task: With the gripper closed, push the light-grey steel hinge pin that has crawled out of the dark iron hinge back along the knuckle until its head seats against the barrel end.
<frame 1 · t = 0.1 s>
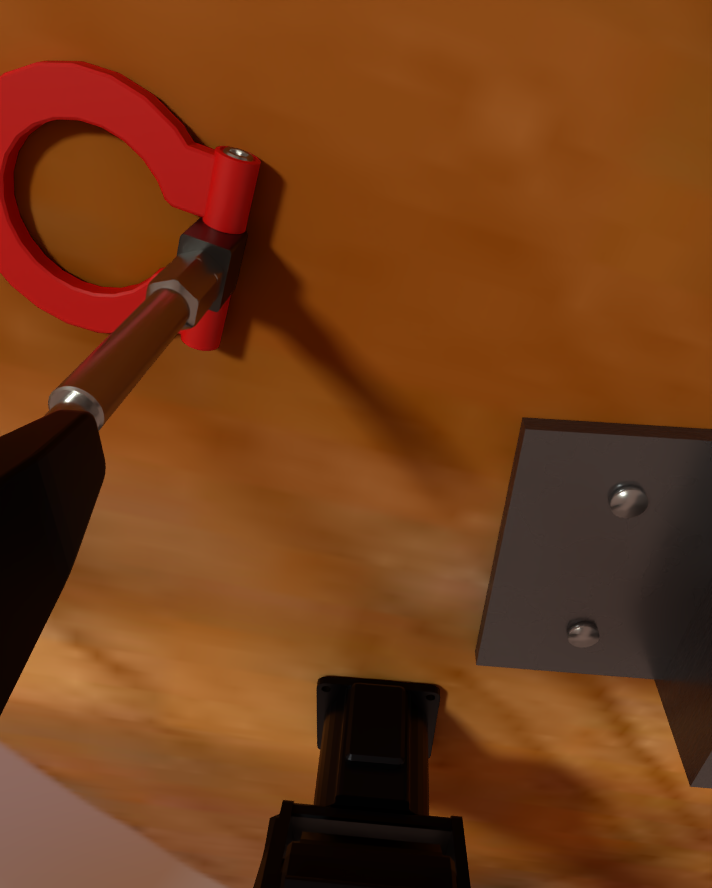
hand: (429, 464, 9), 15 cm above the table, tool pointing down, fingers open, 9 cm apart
tow hook: (113, 208, 22), on the table
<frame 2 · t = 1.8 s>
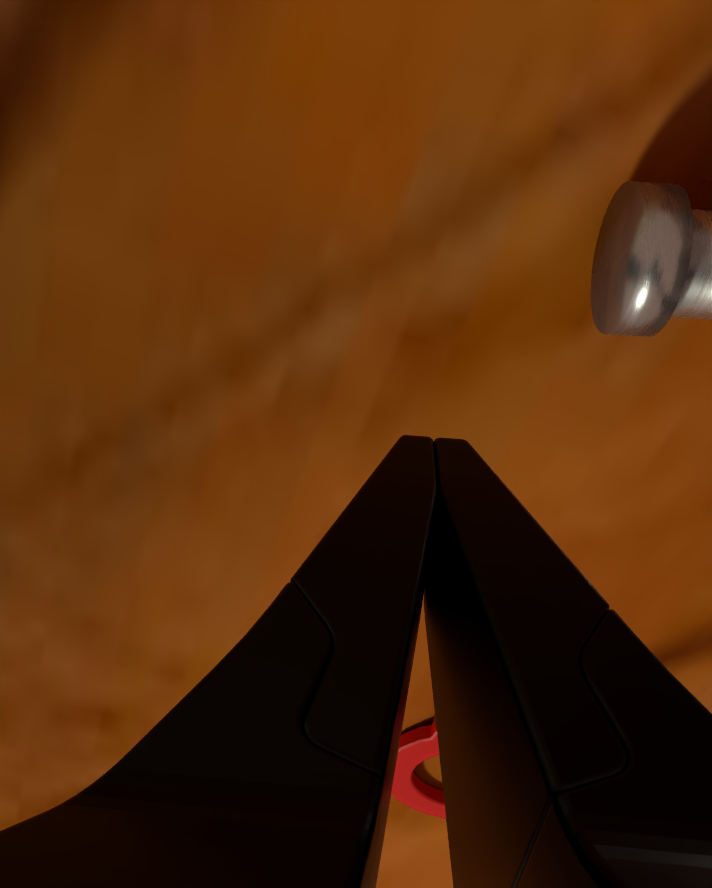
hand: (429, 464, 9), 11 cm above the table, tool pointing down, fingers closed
tow hook: (470, 754, 33), on the table
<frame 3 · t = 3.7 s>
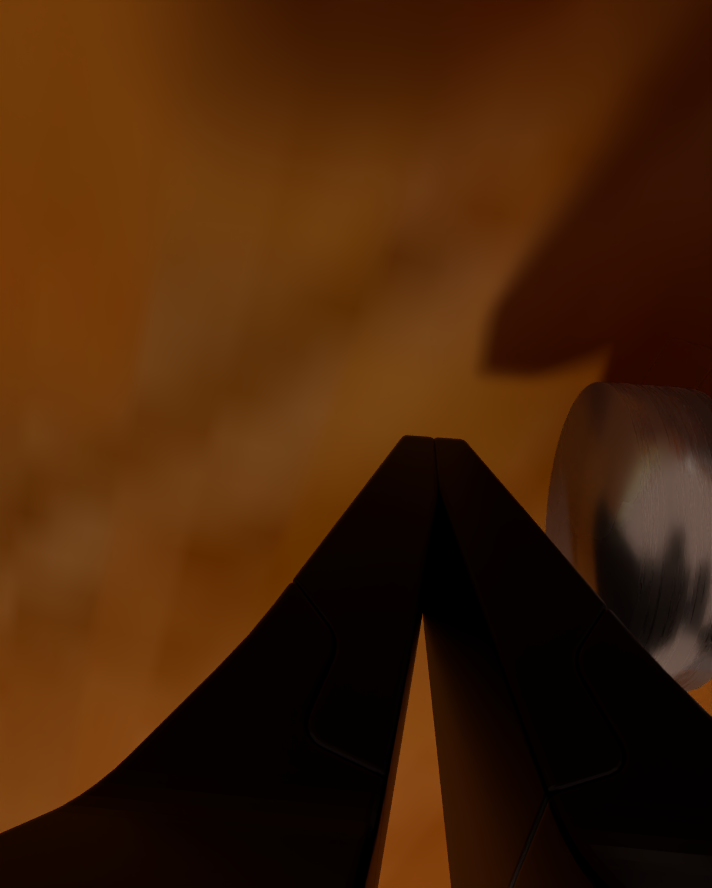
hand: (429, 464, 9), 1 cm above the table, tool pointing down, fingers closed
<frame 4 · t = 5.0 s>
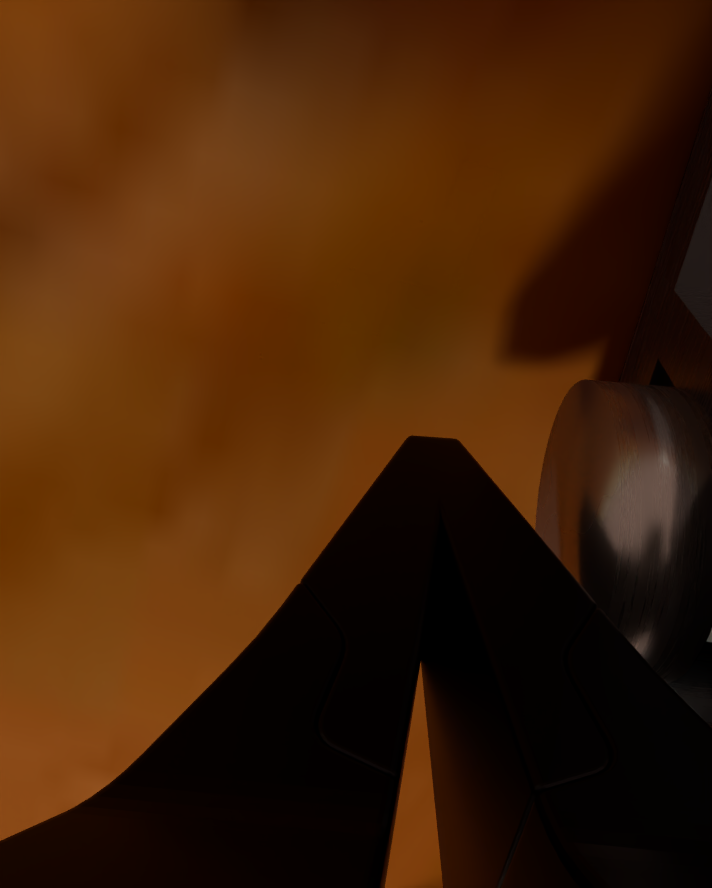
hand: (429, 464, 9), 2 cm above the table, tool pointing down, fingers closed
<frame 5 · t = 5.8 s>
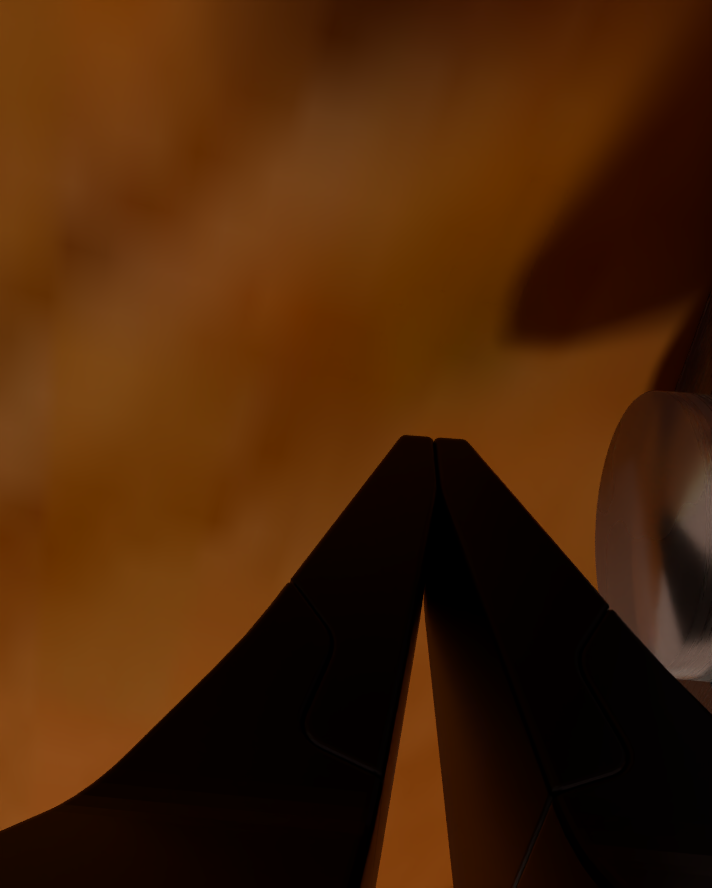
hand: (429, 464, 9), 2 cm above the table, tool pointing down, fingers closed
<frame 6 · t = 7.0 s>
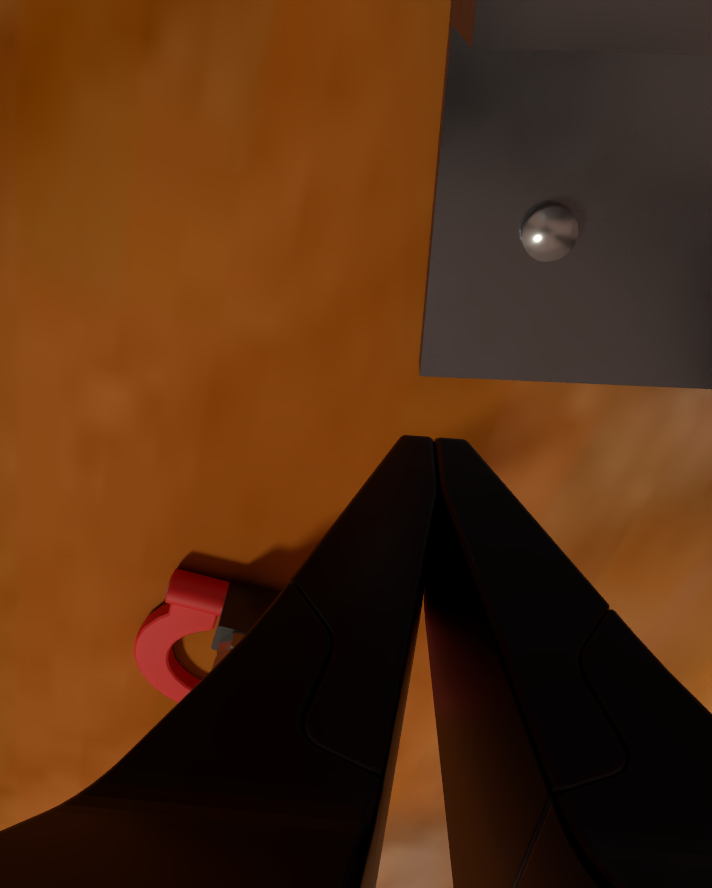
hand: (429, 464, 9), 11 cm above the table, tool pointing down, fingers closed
tow hook: (237, 641, 30), on the table
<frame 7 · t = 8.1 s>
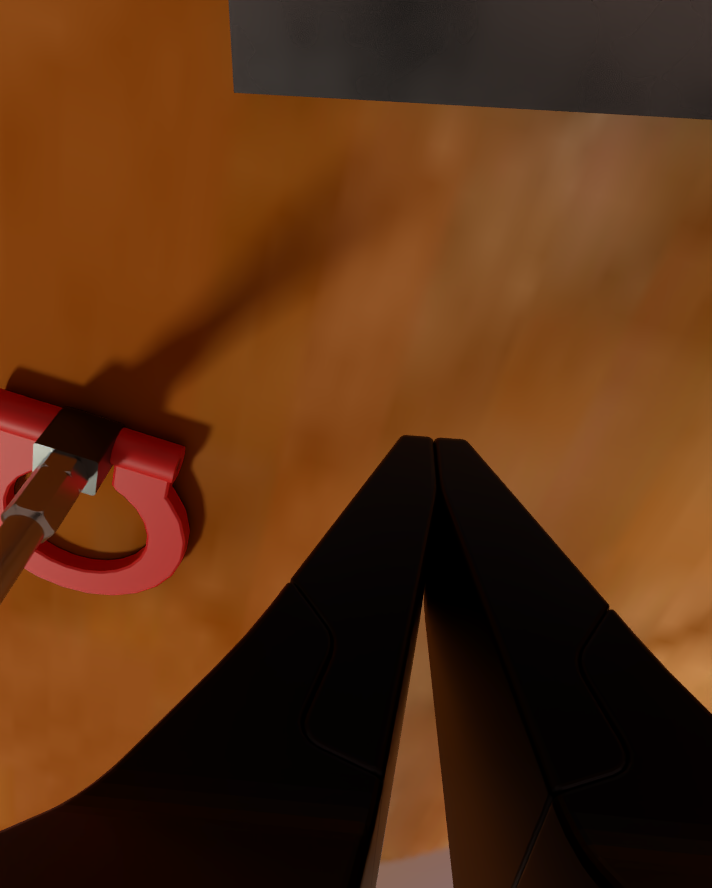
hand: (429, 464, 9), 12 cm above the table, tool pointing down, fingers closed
tow hook: (90, 496, 26), on the table
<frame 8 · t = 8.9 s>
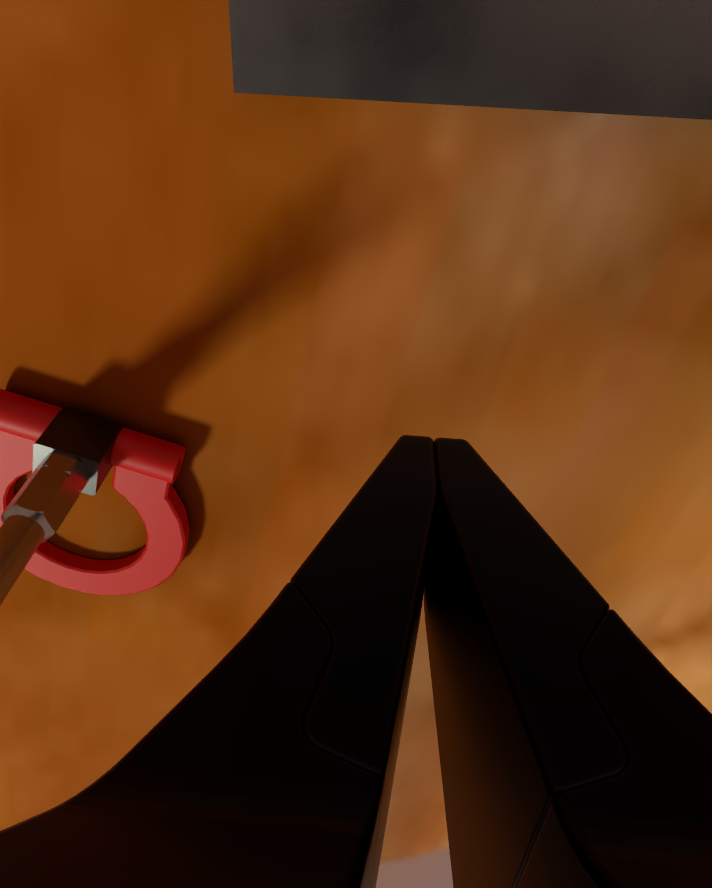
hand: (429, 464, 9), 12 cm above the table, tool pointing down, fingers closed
tow hook: (90, 496, 26), on the table
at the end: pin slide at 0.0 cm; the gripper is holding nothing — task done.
